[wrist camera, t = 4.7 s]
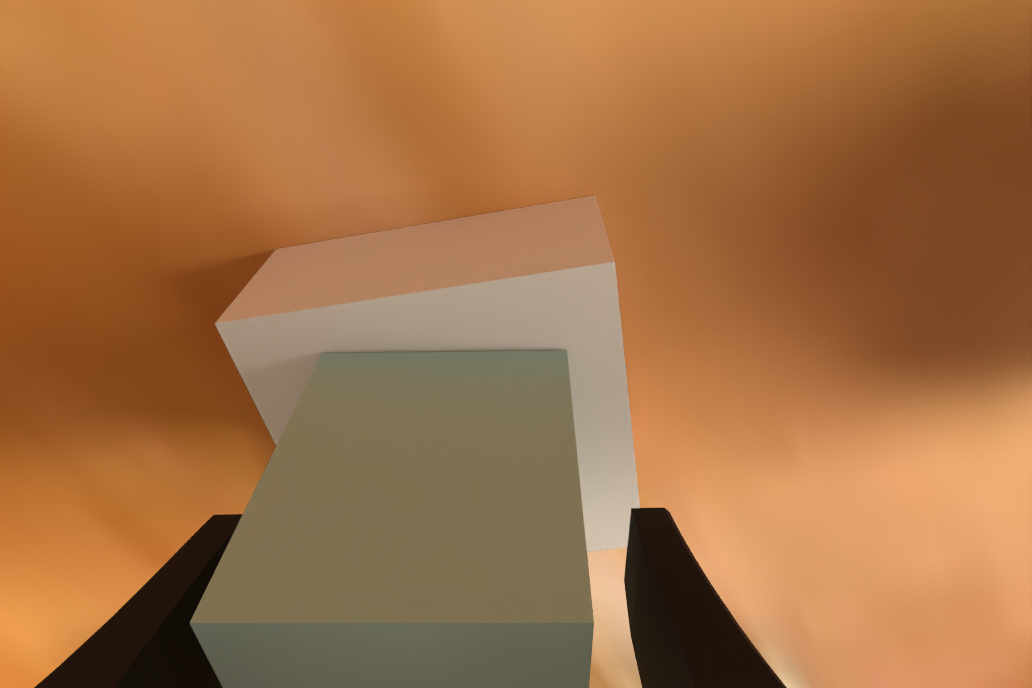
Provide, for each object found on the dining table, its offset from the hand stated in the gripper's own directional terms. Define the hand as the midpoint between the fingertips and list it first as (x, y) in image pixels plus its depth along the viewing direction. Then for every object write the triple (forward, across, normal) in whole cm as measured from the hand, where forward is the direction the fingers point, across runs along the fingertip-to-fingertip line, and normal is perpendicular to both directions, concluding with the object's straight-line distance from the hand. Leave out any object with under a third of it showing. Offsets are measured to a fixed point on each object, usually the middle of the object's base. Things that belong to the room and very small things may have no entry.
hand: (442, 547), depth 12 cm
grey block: (+7, 0, 0) cm, 7 cm away
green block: (+3, 0, 0) cm, 3 cm away
